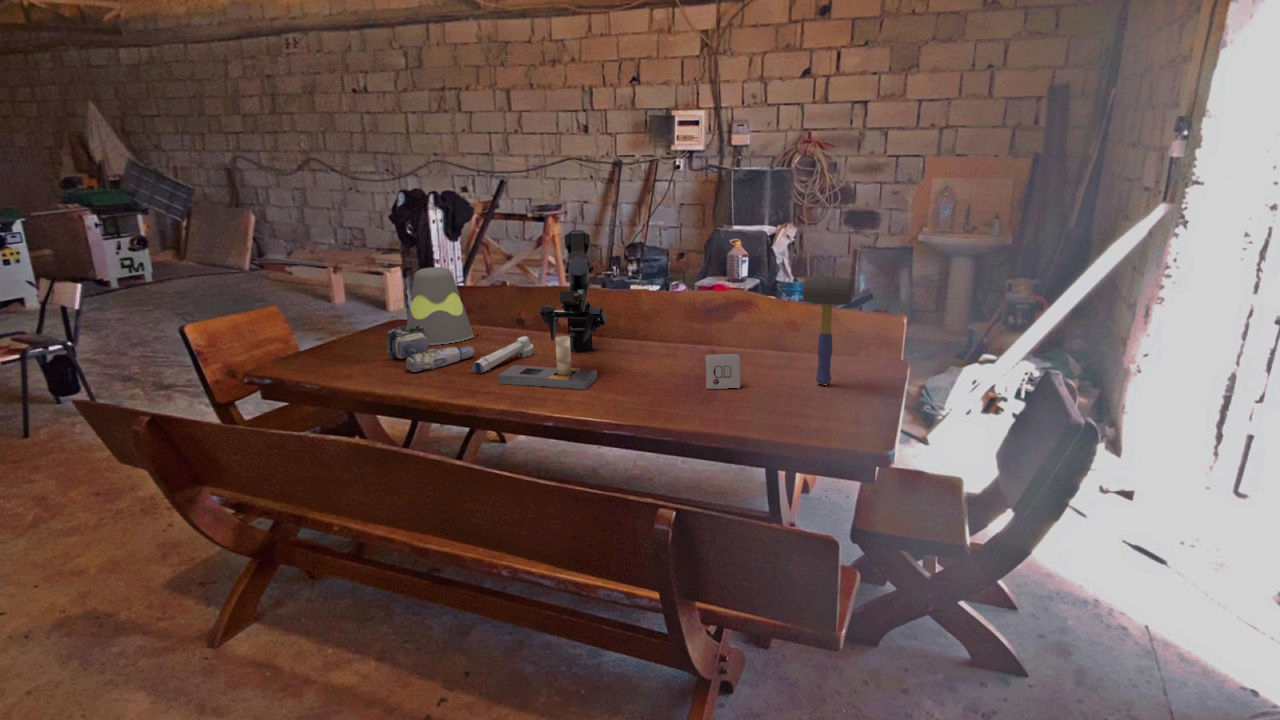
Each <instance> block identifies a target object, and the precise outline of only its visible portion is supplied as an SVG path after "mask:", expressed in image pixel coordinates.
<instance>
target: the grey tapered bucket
mask: <svg viewBox="0 0 1280 720" xmlns="http://www.w3.org/2000/svg"><path fill="white" fill-rule="evenodd" d="M457 286H458V285H457V284H456V281H455V278H454V276H453V273H452V271H451V270H450V269H449V268H447V267H439V266H438V267H437V266H436V267H435V266H433V267H425V268H424V267H423V268H420V269H419V270H417V271H416V272H415V273H414V276H413V282H412V289H411V296H410V306H409V308H408V315H407V322H406V326H405V327H406V328H408V329H410V328H411V327H413V326H424V328H425V333H426V334H427V339H428V346H427V347H429V345H431V346H442V345H441V344H444V345H450V344H449V343H452V344H456V343H455V342H458V343H461V342H460V341H462V342H465V341H464V340H466V341H468V340H467V339H469V340H471V339H470V338H472V337H474V338H476V337H475V336H473V331H472V328H473V327H472V326H471V322H470V320H469V317H468V314H467V311H466V309H465V306H464V303H463V302H462V301H461V300H462V299H461V294H460V292H459V289H458V287H457ZM477 335H478V334H477ZM478 336H479V335H478ZM472 339H473V338H472Z"/></svg>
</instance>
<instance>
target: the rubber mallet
mask: <svg viewBox="0 0 1280 720" xmlns="http://www.w3.org/2000/svg"><path fill="white" fill-rule="evenodd" d="M853 293H854V281H853V279H852V278H848V277H839V276H832V275H831V276H830V275H829V276H828V275H815V276H811V275H810V276H806V277H805V278H804V281H803V286H802V300H803V301H804V302H806V303H812V304H819V305H820V304H821V305H822V311H821V328H820V333H819V336H818V344H817V358H818V363H817V373H816V375H815V381H816V383H817V384H818V383H820V384H828V383H829V384H831V381H832V376H831V375H832V374H831V364H832V363H831V361H832V354H833V335H832V315H833V305H836V306H837V305H840V306H841V305H842V306H843V305H850V304H851V303H852V300H853Z"/></svg>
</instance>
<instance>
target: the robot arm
mask: <svg viewBox="0 0 1280 720" xmlns="http://www.w3.org/2000/svg"><path fill="white" fill-rule="evenodd" d="M563 237H564V239H563V240H564V249H565V250H566V252H567V261H565V274H568V280H569V287H568V290H561V291H559V299H558V300H559V303H561V308H562V309H564V310H557V308H556V307H555V306H554V305H542V306H541V307H540V309H539V313H538V314H539V315H540V317H541V318H542V321H543V322H544V323H545V324H547V325H548V326H549V331H550V338H551V341H552V342H553V341H554V340H555V338H556V333H557V330H558V326H559V324H558V321H559V319H560V318H565V319H567V329H568V332H567V333H568V334H570V335H569V337H570V350H572V351H574V352H575V353H582V352H587V351H589V352H590V351H594V350H596V347H594V345H593V333H594V332H596V331H597V329H598V328H601V326H605V325H606V323H607V316H606V315H607V314H606V312H605V310H604V309H603V307H596V306H595V307H594V306H591V303H589V302H588V301H587V299H588V293H589V289H590V284H591V283H590V280H589V279H590V277H589V276H590V273H591V274H592V272H593V271H594V264H593V262H592V261H591V260H589V249H591V235H590V234H589V233H587V232H586V231H585V230H583V229H575V230H574V229H573V230H569V231H568V233H566V234H564V236H563ZM554 342H555V341H554Z"/></svg>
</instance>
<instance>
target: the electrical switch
mask: <svg viewBox="0 0 1280 720" xmlns="http://www.w3.org/2000/svg"><path fill="white" fill-rule="evenodd" d="M704 357H705V377H706V378H705V381H706V382H705V387H706V389H707V390H726V389H727V390H729V389H728V388H737V389H740V387H741V357H740V355H739V354H737V353H736V354H735V353H733V354H730V353H729V354H707V355H706V356H704ZM715 381H717V382H716V383H715Z"/></svg>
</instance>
